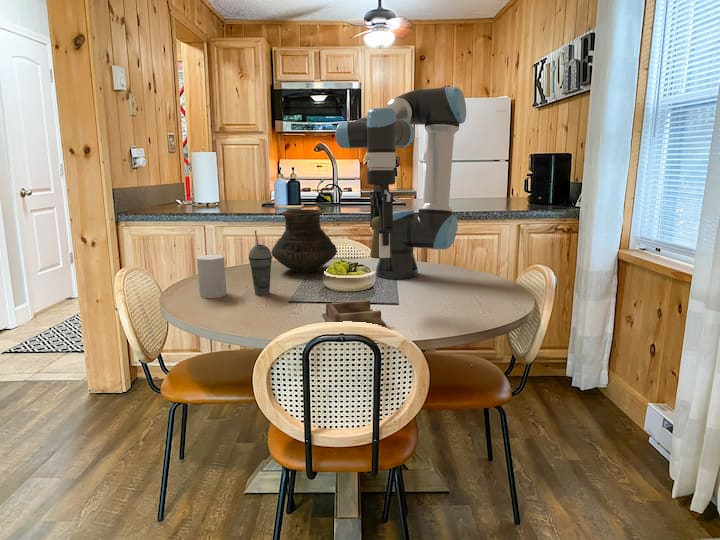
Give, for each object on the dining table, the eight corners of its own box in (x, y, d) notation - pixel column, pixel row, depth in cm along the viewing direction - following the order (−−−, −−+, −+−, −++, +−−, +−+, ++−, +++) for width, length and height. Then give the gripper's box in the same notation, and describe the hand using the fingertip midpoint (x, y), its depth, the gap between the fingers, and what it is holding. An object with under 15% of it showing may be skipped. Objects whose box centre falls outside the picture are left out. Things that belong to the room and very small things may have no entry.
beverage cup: (268, 296, 157) (265, 232, 153) (246, 295, 159) (242, 231, 154) (277, 291, 164) (274, 229, 160) (255, 290, 166) (252, 228, 161)
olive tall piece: (368, 255, 143) (368, 215, 141) (390, 254, 144) (390, 215, 141) (371, 258, 137) (371, 217, 135) (393, 258, 138) (393, 217, 135)
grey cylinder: (231, 292, 163) (229, 255, 160) (214, 299, 155) (211, 260, 153) (211, 290, 166) (209, 254, 163) (193, 296, 159) (190, 258, 156)
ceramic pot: (284, 263, 208) (282, 207, 203) (342, 264, 204) (341, 208, 199) (263, 276, 184) (260, 214, 180) (328, 278, 180) (327, 215, 176)
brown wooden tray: (372, 311, 141) (371, 298, 140) (385, 325, 129) (385, 312, 128) (321, 315, 138) (321, 302, 137) (331, 331, 125) (330, 316, 125)
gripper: (358, 169, 144) (359, 250, 148) (377, 169, 126) (377, 262, 130) (384, 169, 145) (383, 249, 150) (406, 169, 127) (405, 260, 132)
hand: (380, 255), depth 140 cm, fingers closed on olive tall piece, 6 cm apart
